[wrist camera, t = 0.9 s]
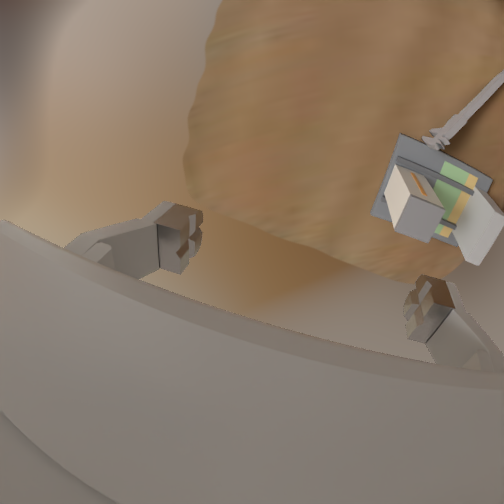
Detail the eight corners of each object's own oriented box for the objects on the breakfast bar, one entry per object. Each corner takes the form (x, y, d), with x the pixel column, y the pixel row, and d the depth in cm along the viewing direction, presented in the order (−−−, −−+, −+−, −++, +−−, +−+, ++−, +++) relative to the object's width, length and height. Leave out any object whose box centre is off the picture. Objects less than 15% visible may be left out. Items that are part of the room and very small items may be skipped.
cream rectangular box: (395, 163, 35) (411, 195, 27) (424, 174, 35) (446, 209, 27) (383, 192, 39) (394, 231, 31) (411, 203, 38) (427, 243, 30)
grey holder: (399, 132, 33) (415, 151, 27) (490, 177, 31) (515, 204, 25) (370, 212, 43) (375, 244, 36) (455, 243, 40) (470, 277, 34)
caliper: (424, 142, 33) (437, 156, 28) (419, 137, 33) (432, 149, 28) (506, 74, 21) (527, 80, 16) (502, 68, 20) (524, 73, 16)
